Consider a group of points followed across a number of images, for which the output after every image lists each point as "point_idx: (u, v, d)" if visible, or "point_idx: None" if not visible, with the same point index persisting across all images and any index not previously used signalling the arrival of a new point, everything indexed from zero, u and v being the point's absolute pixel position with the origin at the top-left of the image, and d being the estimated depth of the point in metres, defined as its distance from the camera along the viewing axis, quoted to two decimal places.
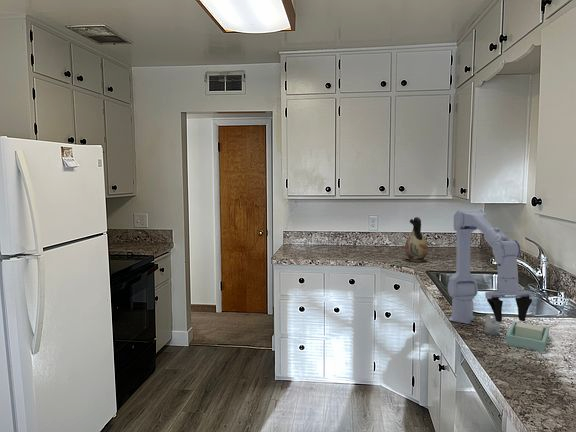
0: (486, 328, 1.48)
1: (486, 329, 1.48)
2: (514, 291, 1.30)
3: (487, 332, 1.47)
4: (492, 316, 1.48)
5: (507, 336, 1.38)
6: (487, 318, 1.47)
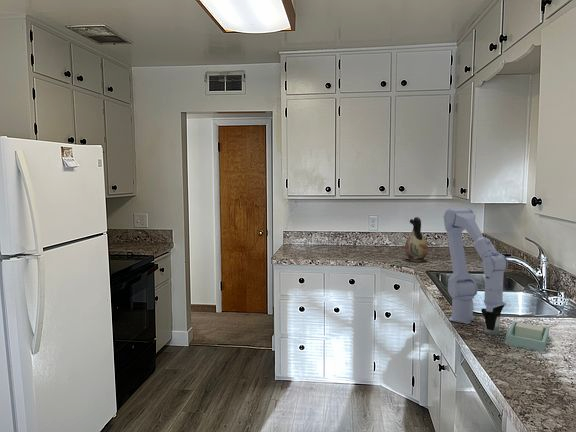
0: (486, 328, 1.48)
1: (486, 329, 1.48)
2: (502, 301, 1.46)
3: (487, 332, 1.47)
4: None
5: (507, 336, 1.38)
6: None
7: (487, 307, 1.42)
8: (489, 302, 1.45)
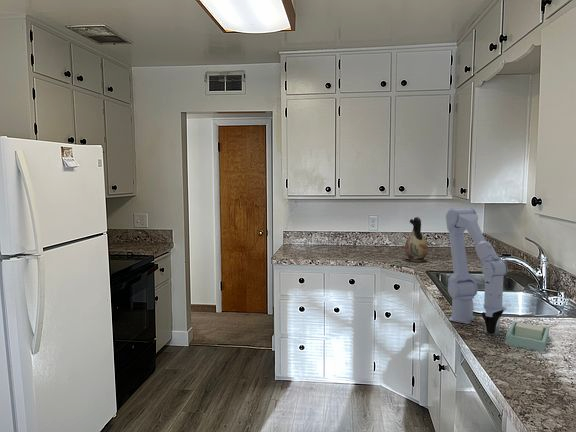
0: None
1: (486, 329, 1.48)
2: (502, 306, 1.46)
3: None
4: None
5: (507, 336, 1.38)
6: None
7: (487, 312, 1.42)
8: (489, 307, 1.45)
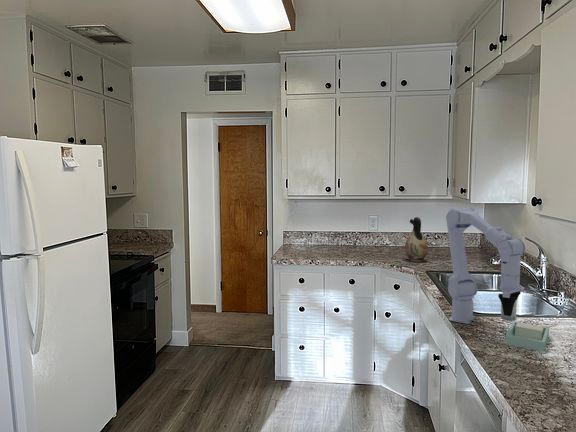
0: (502, 311, 1.43)
1: (502, 312, 1.43)
2: None
3: (503, 315, 1.42)
4: None
5: (507, 336, 1.38)
6: None
7: (504, 293, 1.37)
8: (506, 288, 1.40)
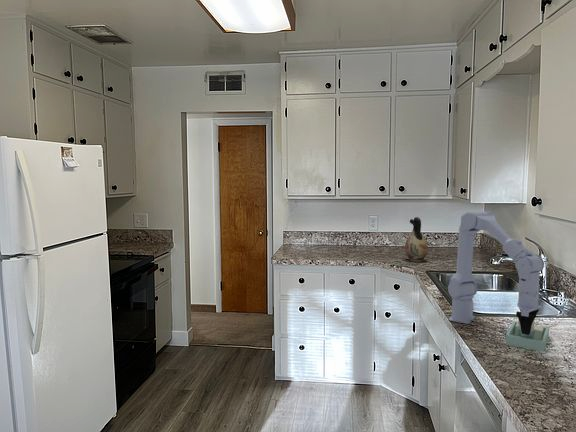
0: (520, 329, 1.38)
1: (520, 330, 1.38)
2: (537, 304, 1.36)
3: (521, 333, 1.38)
4: None
5: (507, 336, 1.38)
6: None
7: (523, 311, 1.32)
8: (524, 306, 1.36)
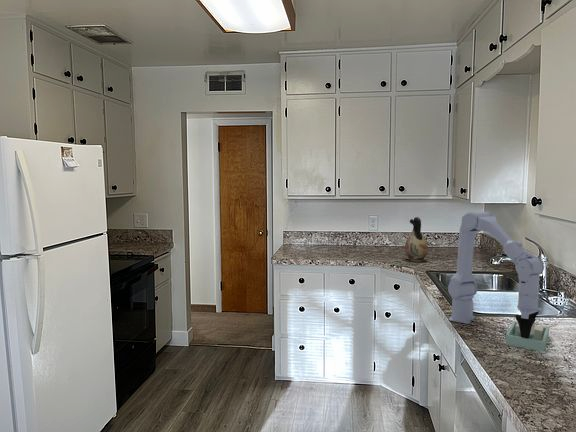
0: (520, 335, 1.38)
1: (520, 336, 1.38)
2: (537, 307, 1.36)
3: None
4: None
5: (507, 336, 1.38)
6: None
7: (522, 314, 1.32)
8: (524, 308, 1.36)
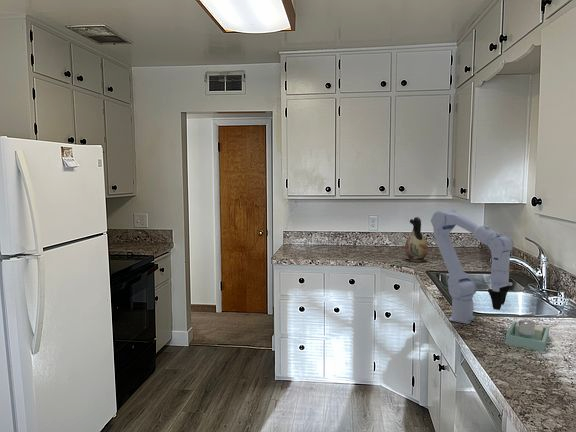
0: (520, 335, 1.38)
1: (520, 336, 1.38)
2: (508, 281, 1.48)
3: None
4: (526, 322, 1.38)
5: (507, 336, 1.38)
6: (521, 324, 1.38)
7: (494, 287, 1.45)
8: (495, 282, 1.48)
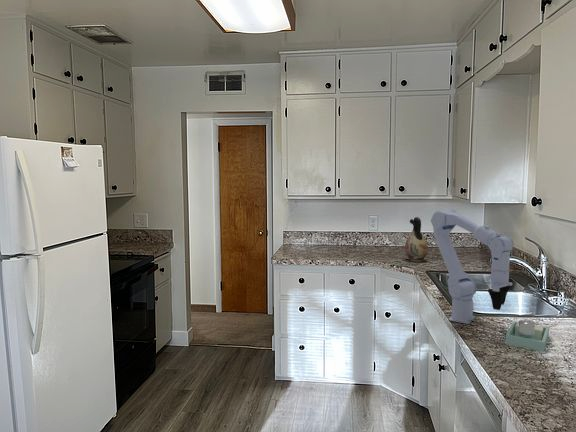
0: (520, 335, 1.38)
1: (520, 336, 1.38)
2: (508, 281, 1.48)
3: None
4: (526, 322, 1.38)
5: (507, 336, 1.38)
6: (521, 324, 1.38)
7: (494, 287, 1.45)
8: (495, 282, 1.48)
